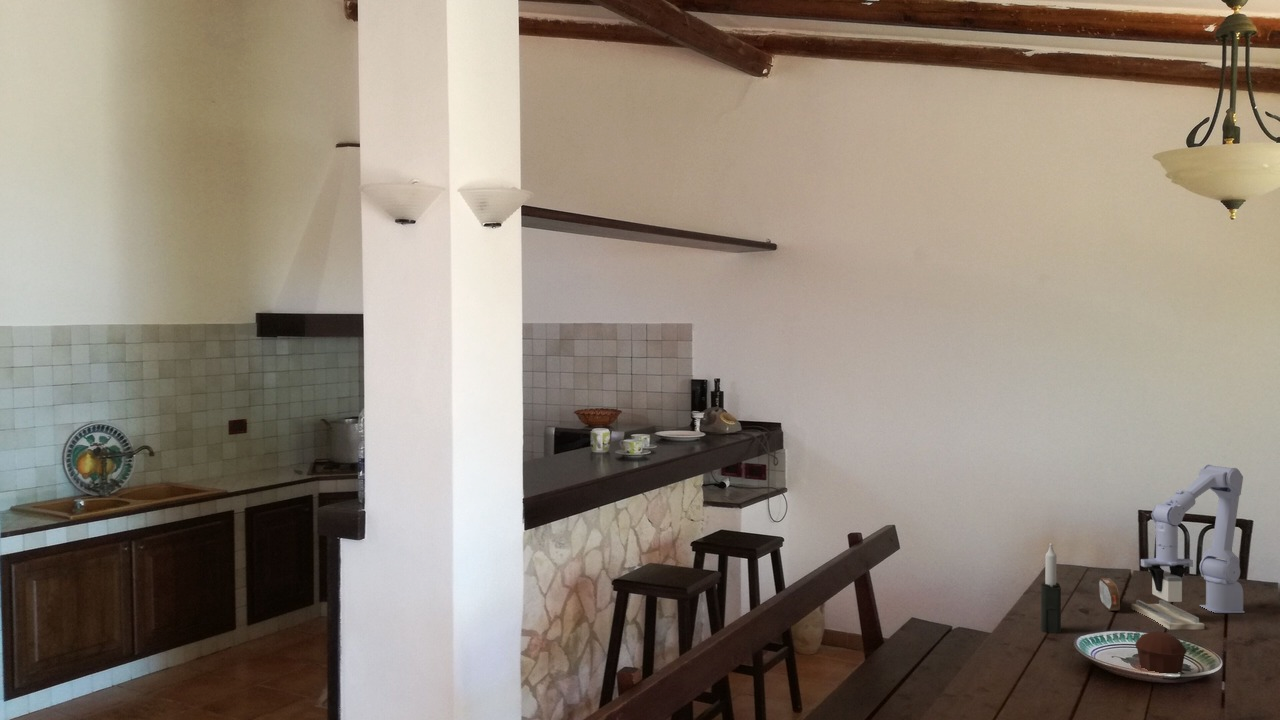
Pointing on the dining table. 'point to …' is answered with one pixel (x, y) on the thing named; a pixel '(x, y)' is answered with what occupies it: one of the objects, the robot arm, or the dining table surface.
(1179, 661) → the muffin
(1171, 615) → the rail board
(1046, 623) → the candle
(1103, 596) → the tin
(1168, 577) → the block
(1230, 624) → the dining table surface
